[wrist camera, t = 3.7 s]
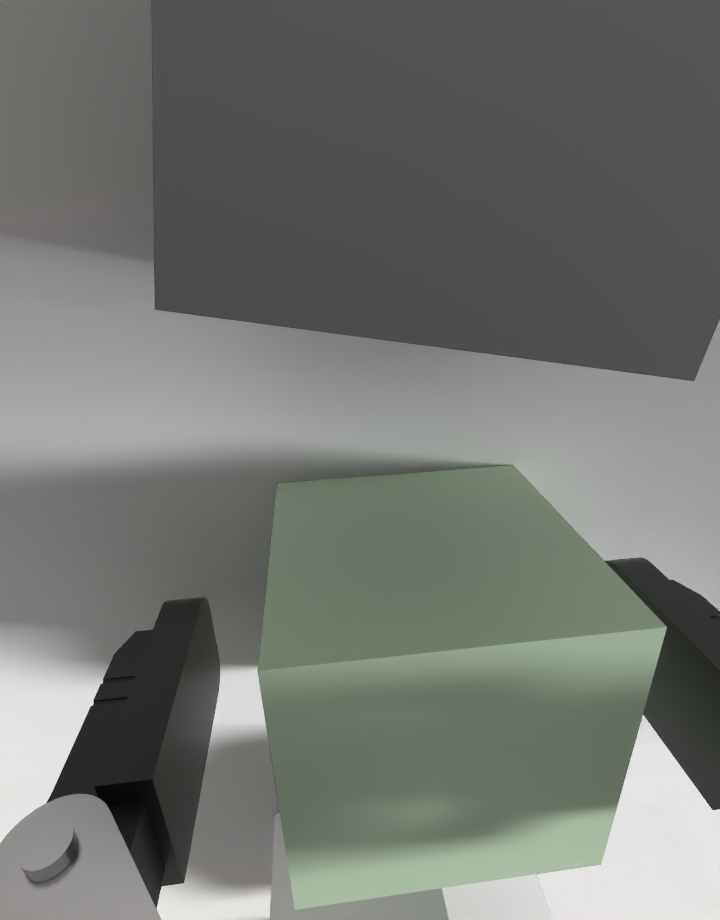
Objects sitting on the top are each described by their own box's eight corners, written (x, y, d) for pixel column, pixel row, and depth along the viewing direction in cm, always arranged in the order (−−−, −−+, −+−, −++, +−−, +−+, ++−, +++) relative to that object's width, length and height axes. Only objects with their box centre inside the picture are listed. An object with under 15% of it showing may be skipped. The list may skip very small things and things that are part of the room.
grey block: (507, 795, 15) (593, 1027, 11) (385, 872, 16) (417, 1117, 12) (404, 719, 14) (458, 962, 9) (274, 812, 14) (262, 1074, 10)
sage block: (511, 463, 11) (667, 626, 6) (493, 641, 13) (601, 863, 8) (277, 480, 10) (258, 670, 6) (297, 662, 12) (295, 910, 8)
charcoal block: (587, -28, 7) (1036, -446, 3) (502, 313, 9) (693, 380, 5) (249, -119, 7) (142, -891, 2) (231, 274, 9) (155, 308, 4)
